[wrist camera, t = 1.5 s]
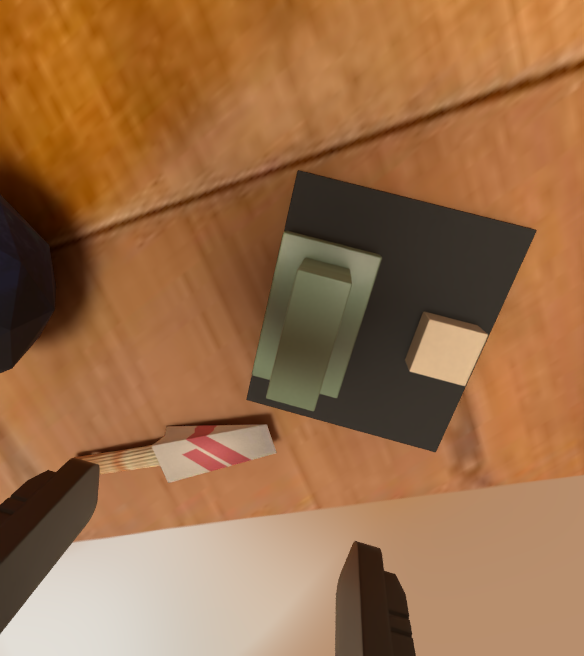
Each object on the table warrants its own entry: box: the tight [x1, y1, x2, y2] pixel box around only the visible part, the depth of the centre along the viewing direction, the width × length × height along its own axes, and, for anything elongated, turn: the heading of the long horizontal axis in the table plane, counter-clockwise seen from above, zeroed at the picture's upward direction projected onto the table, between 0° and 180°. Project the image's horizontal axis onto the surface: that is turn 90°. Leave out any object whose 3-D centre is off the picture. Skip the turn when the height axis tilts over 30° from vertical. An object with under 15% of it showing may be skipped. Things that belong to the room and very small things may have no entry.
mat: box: [247, 170, 537, 452], centre depth 27 cm, size 18×16×1 cm
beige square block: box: [405, 312, 488, 386], centre depth 26 cm, size 4×4×2 cm
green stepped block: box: [252, 231, 382, 411], centre depth 24 cm, size 10×6×7 cm, turn 167°
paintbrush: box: [74, 424, 276, 483], centre depth 32 cm, size 4×3×20 cm
